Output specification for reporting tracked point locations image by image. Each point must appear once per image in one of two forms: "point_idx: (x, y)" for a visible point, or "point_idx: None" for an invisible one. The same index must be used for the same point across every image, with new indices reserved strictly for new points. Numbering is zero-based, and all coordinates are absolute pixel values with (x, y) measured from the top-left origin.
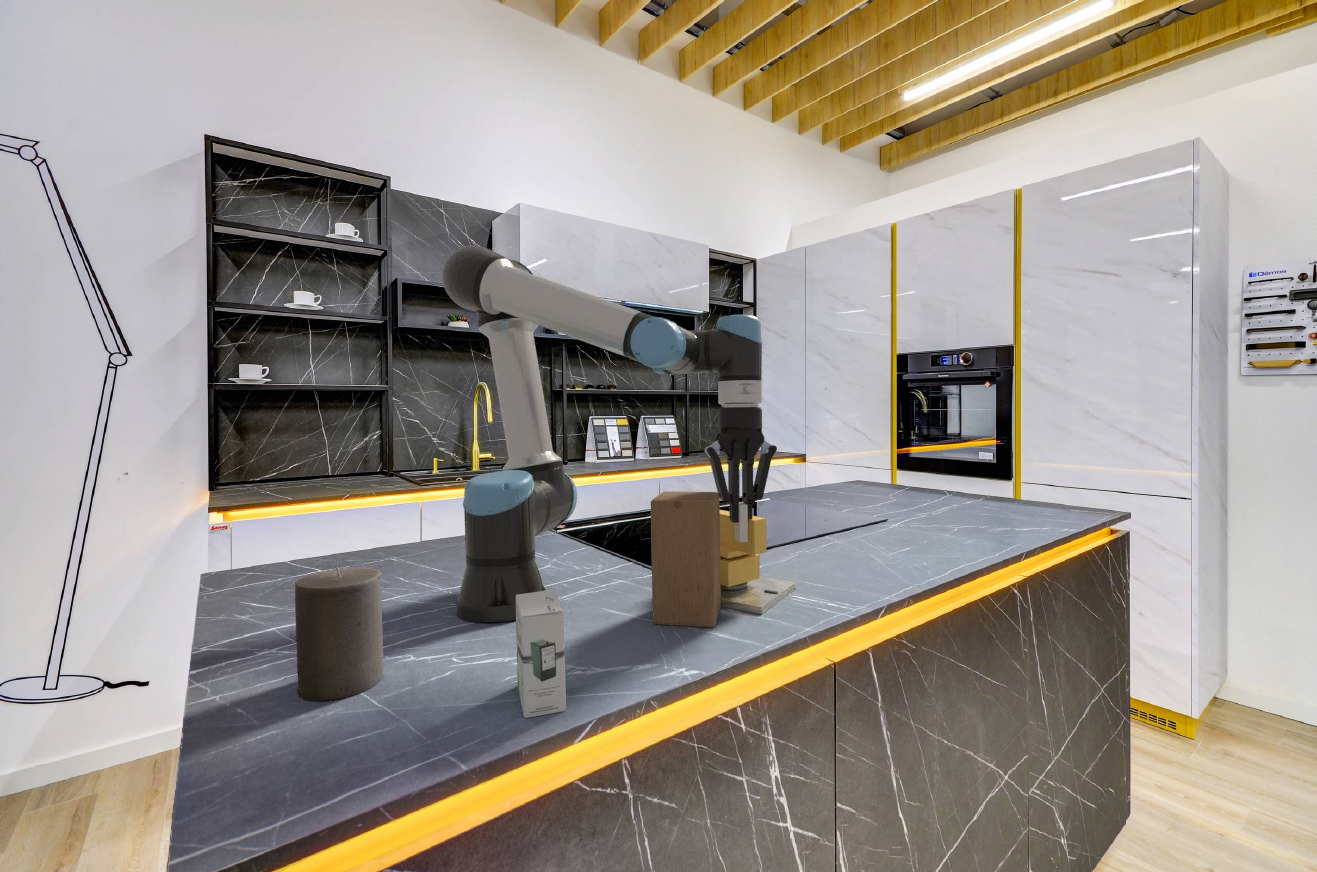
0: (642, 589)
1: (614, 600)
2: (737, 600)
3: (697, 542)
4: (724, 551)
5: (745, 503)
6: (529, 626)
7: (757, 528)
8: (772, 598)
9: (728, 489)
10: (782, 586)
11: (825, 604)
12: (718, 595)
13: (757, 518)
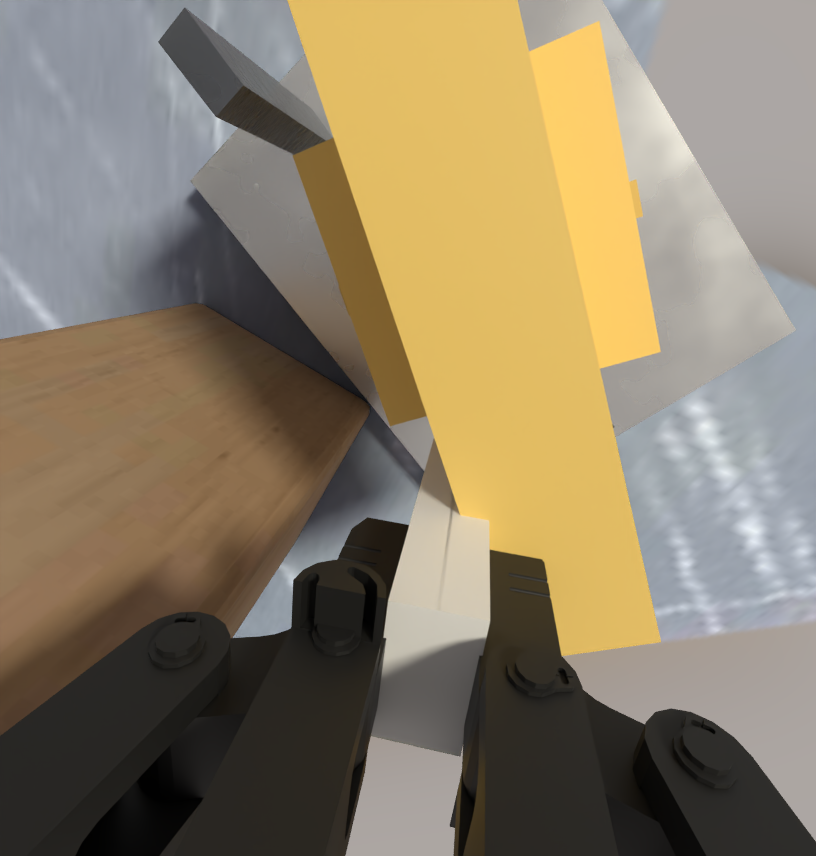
0: (142, 74)
1: (33, 187)
2: (423, 438)
3: None
4: (385, 388)
5: (465, 721)
6: None
7: None
8: None
9: (227, 756)
10: (689, 362)
11: (729, 522)
12: (319, 495)
13: (588, 612)
